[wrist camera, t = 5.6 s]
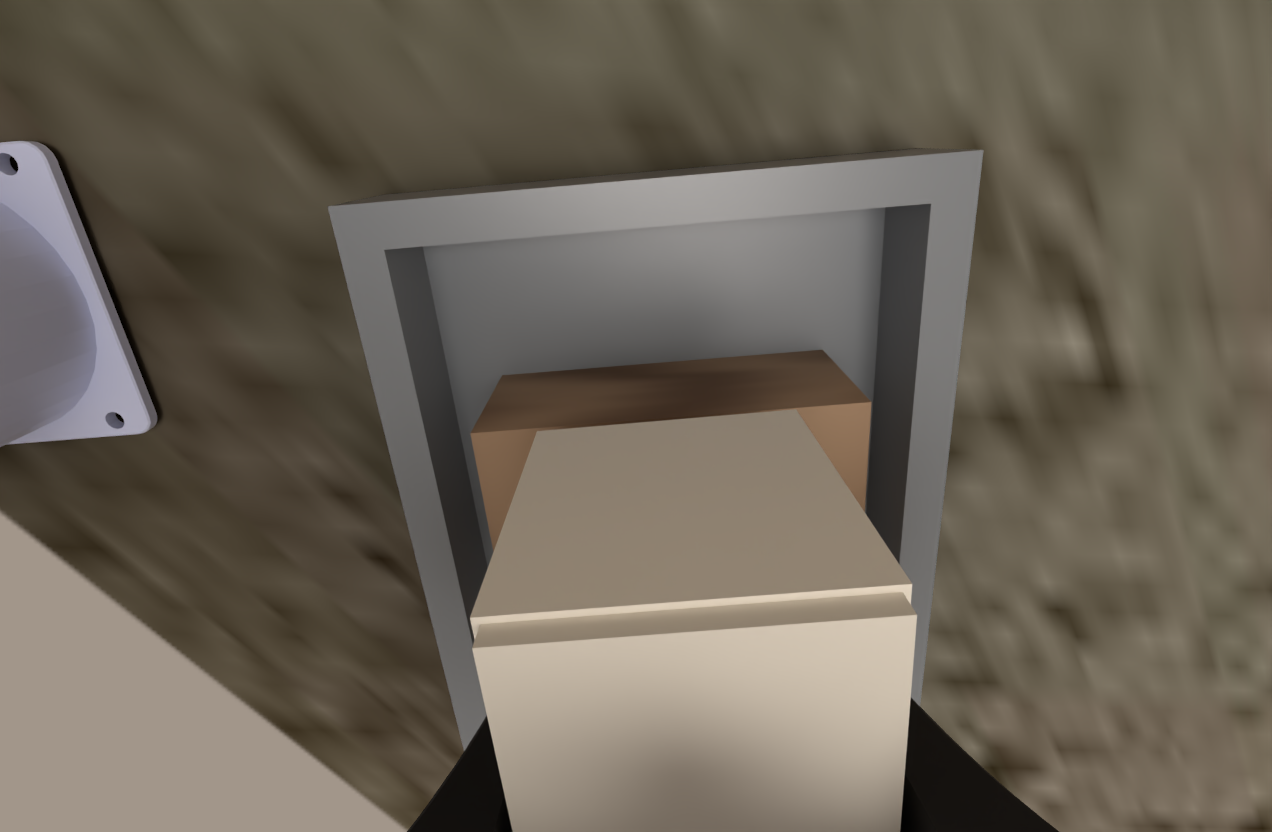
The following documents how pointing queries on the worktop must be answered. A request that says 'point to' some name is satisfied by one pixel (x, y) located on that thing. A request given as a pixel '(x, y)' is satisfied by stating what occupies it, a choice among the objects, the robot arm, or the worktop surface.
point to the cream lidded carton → (694, 635)
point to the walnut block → (668, 410)
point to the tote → (662, 325)
